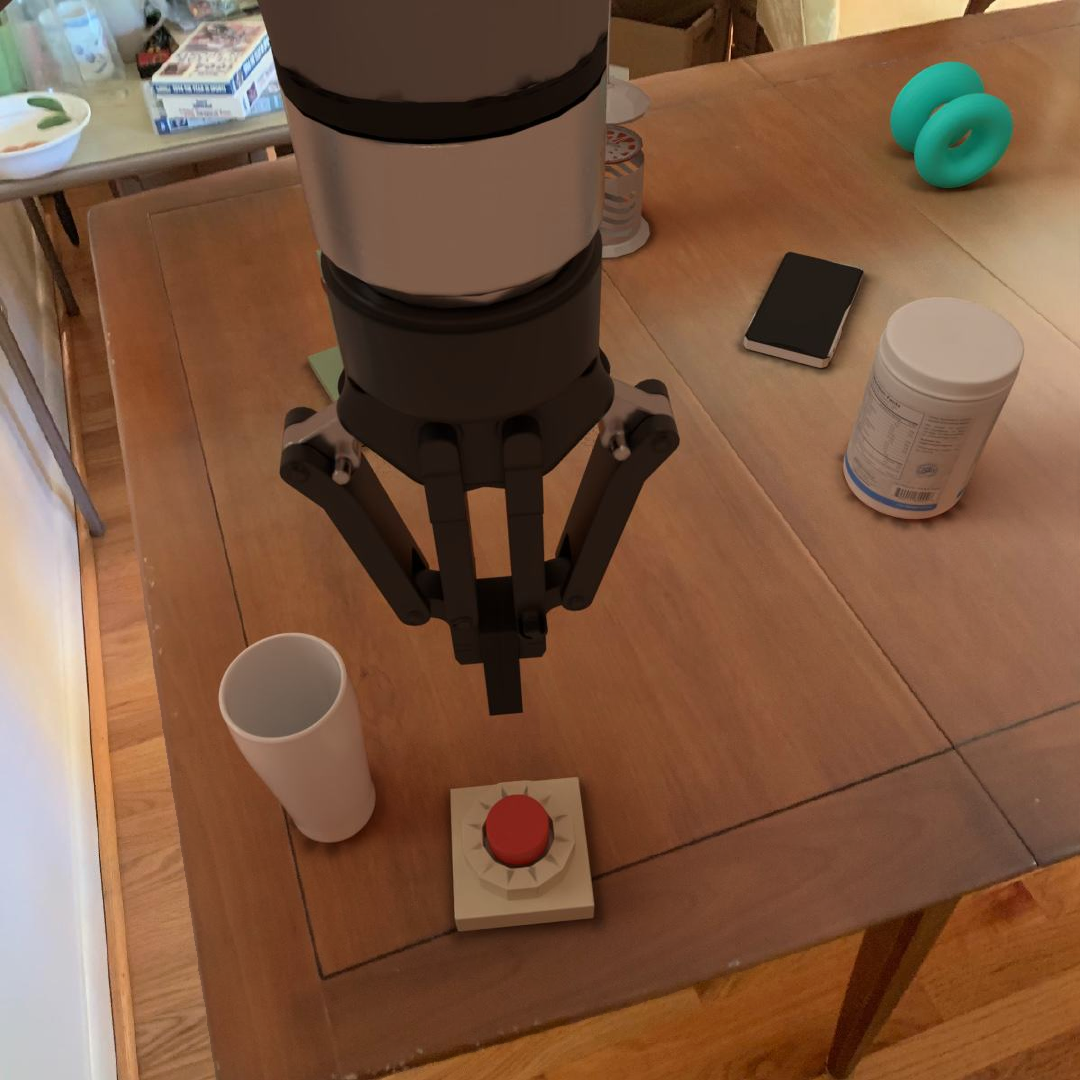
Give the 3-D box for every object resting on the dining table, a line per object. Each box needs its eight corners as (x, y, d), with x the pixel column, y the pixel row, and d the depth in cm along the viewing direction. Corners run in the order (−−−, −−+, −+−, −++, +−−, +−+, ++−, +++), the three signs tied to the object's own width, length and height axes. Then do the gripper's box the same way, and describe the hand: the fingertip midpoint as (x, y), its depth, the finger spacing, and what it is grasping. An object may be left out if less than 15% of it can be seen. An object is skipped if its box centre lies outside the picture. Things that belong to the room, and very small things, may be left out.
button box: (457, 932, 57) (451, 909, 54) (453, 803, 62) (447, 775, 59) (593, 918, 57) (595, 894, 54) (577, 791, 62) (578, 763, 59)
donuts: (960, 141, 111) (990, 52, 103) (998, 188, 105) (1032, 98, 97) (876, 149, 111) (899, 60, 103) (909, 197, 104) (936, 106, 97)
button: (489, 868, 56) (487, 857, 54) (485, 809, 58) (484, 796, 57) (552, 862, 56) (551, 851, 54) (546, 803, 58) (545, 790, 57)
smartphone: (866, 268, 95) (829, 360, 86) (863, 279, 96) (826, 371, 87) (785, 250, 97) (741, 338, 88) (783, 260, 98) (739, 348, 89)
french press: (645, 262, 98) (664, -2, 79) (531, 252, 99) (522, -9, 80) (654, 207, 104) (674, -50, 85) (547, 199, 106) (542, -56, 86)
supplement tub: (901, 422, 83) (954, 277, 71) (987, 492, 78) (1060, 347, 66) (814, 468, 80) (855, 323, 68) (899, 543, 74) (958, 401, 63)
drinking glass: (384, 749, 64) (345, 621, 53) (392, 847, 60) (351, 731, 49) (281, 766, 64) (218, 640, 52) (282, 866, 60) (213, 754, 48)
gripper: (679, 136, 28) (634, 607, 46) (225, 167, 28) (361, 631, 46) (736, 295, 23) (661, 750, 42) (189, 336, 23) (356, 778, 41)
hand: (504, 687), depth 44 cm, fingers closed
